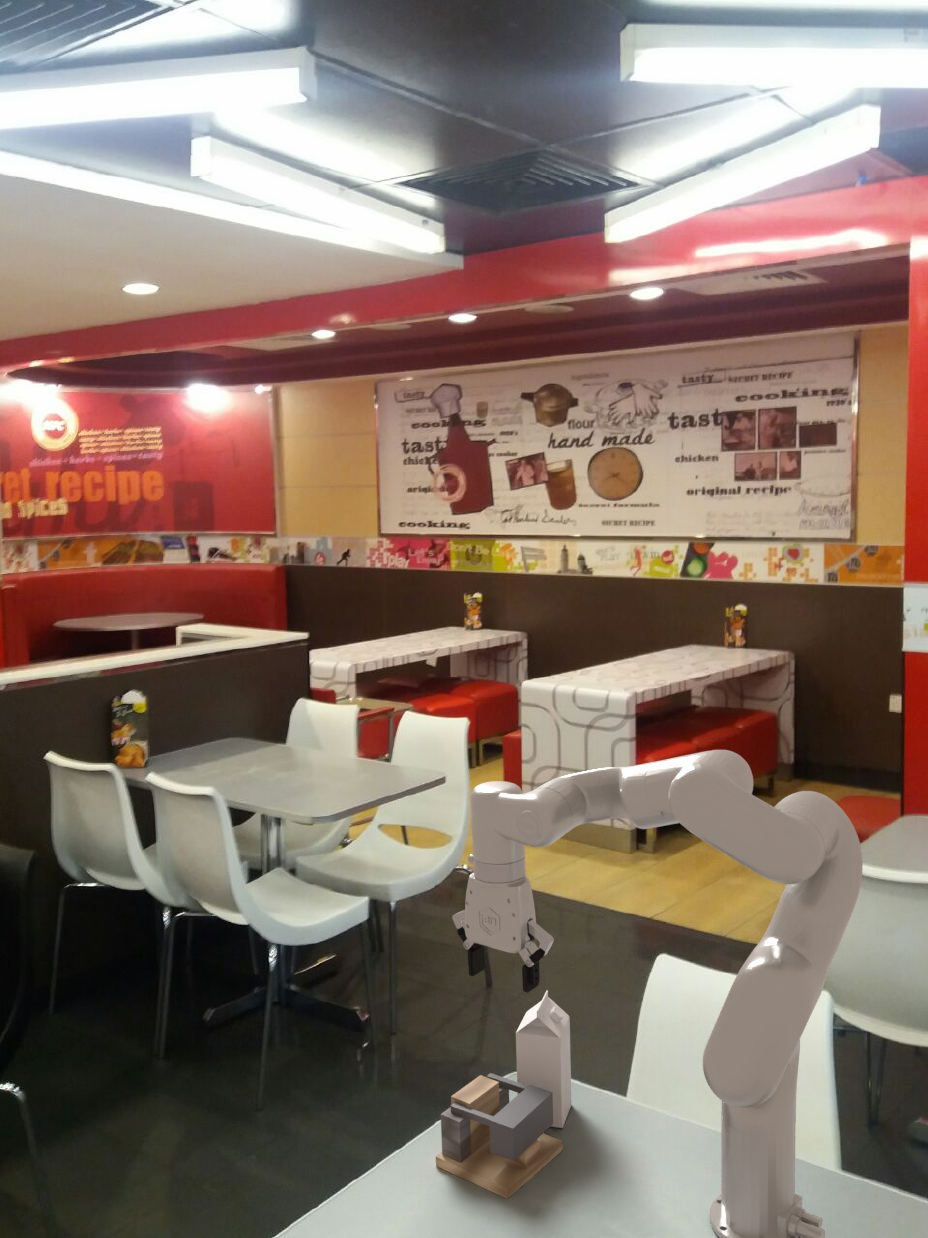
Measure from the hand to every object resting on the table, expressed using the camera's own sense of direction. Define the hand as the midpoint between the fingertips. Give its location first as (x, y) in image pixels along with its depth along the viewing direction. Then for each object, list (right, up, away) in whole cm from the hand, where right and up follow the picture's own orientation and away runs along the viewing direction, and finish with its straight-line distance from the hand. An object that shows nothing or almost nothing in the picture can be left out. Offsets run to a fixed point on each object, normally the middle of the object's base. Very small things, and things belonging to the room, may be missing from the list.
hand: (503, 980), depth 165 cm
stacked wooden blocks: (-1, -27, +2) cm, 27 cm away
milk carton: (+7, -26, +13) cm, 30 cm away
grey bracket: (0, -23, +2) cm, 23 cm away
